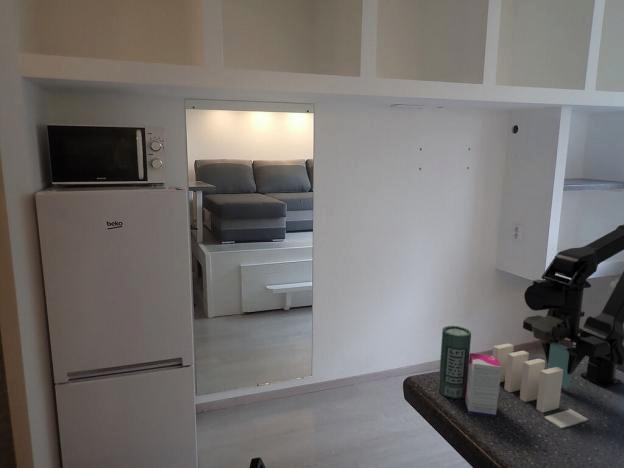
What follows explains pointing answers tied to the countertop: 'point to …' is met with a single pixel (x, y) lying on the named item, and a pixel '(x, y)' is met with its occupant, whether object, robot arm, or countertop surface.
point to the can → (454, 361)
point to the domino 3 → (531, 379)
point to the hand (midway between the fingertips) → (559, 368)
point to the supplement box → (483, 384)
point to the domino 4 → (549, 389)
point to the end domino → (559, 361)
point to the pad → (566, 418)
